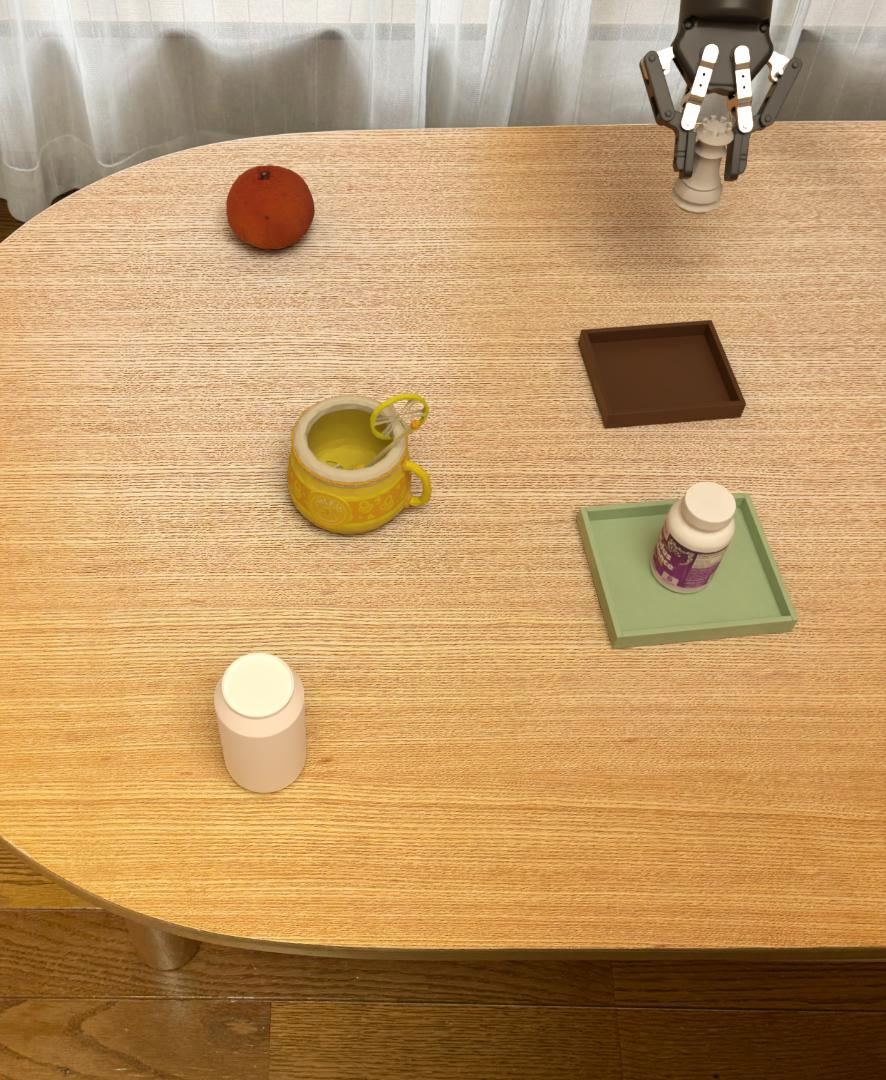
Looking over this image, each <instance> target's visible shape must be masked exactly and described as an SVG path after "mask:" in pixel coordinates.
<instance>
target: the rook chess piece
mask: <svg viewBox="0 0 886 1080" xmlns="http://www.w3.org/2000/svg"><path fill="white" fill-rule="evenodd" d="M727 119H728V118H727V117H725V116H723V115H721V117H720V119H717V115H716V114H713V115H712V114H711V115H709V117H704V118H703V119H702V122H701V123H700V124H699V125H698V126H696V127H695V130H694V132H697V134H696V139H697V140H696V144H695V154H694V164H693V173H692V177H691V178H689V179H679V176H678V177H677V178H676V179H675V180H674V185H673V187H672V188H671V193H670V196H671V198H672V200H673V203H674V204H675V206H676V207H677V208H678V209H680V210H681V211H683V212H686V213H688V214H693V215H704V214H708V213H710V212H713V211H714V210H716V209H717V207H719V205H720V204H721V199H722V196H723V188H724V187H723V184H722V178H721V176H720V170H721V163H722V160H723V157H724V156H726V151H727V144H729V143H730V142H731V141H732V140H733V138H734V134H733V132H732V123H731V121H730V120H729V121H727Z"/></svg>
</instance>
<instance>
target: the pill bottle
mask: <svg viewBox="0 0 886 1080" xmlns="http://www.w3.org/2000/svg"><path fill="white" fill-rule="evenodd" d="M730 491H731V490H729V489H727V488H726V487H724V486H723V485H721V484H719V483H718V482H717V483H716V482H712V481H700V482H696V483H693V484H692V485H691V486H690V487H688V489H687V490H686V492H685V494H684V495H683V497H681V498H678V499H679V500H678V501H676V502H675V503H674V504H673V505H672V507H671V508H670V510H669V512H668V515H667V517H666V520H665V522H664V525H663V527H662V530H661V532H660V534H659V537H658V540H657V543H656V545H655V548H654V550H653V553H652V556H651V561H650V564H651V570H652V573H653V575H654V577H655V578H656V580H657V581H658V582H659V583H660V584H661V585H663V586H664V587H666V588H667V589H669V590H671V591H674V592H678V593H695V592H698V591H700V590H702V589H704V588H705V587H706V586H707V585H708V584H709V583H710V581H711V580H712V578H713V576H714V574H715V572H716V570H717V568H718V566H719V564H720V562H721V560H722V558H723V556H724V554H725V552H726V550H727V548H728V546H729V544H730V542H731V540H732V538H733V535H734V531H735V523H734V519H733V515H734V513H735V510H736V502H735V499H734V497H733V495H732V494H733V493H732V492H730Z"/></svg>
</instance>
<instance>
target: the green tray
mask: <svg viewBox="0 0 886 1080" xmlns="http://www.w3.org/2000/svg"><path fill="white" fill-rule="evenodd" d="M731 494H732V495H733V497H734V499H735V502H736V510H735V513H734V515H733V519H734V523H735V531H734V535H733V538H732V540H731V542H730V544H729V546H728V548H727V550H726V552H725V554H724V556H723V558H722V560H721V562H720V564H719V566H718V568H717V570H716V572H715V574H714V576H713V578H712V580H711V581H710V583H709V584H708V585H707V586H706V587H705V588H704V589H702V590H700V591H698V592H695V593H678V592H674V591H671V590H669V589H667V588H666V587H664V586H663V585H661V584H660V583H659V582H658V581H657V580H656V578H655V577H654V575H653V573H652V570H651V564H650V561H651V556H652V553H653V550H654V548H655V545H656V543H657V540H658V537H659V534H660V532H661V530H662V527H663V525H664V522H665V520H666V517H667V515H668V512H669V510H670V508H671V507H672V505H673V504H674V503H675V502H676V501H678V500H679V499H680V498H674V499H673V498H671V499H662V500H661V499H660V500H653V501H652V500H649V501H639V502H626V503H617V504H616V503H615V504H605V505H603V504H602V505H594V506H592V505H590V506H582V507H581V506H580V507H579V509H578V513H577V517H576V524H577V527H578V531H579V534H580V538H581V542H582V546H583V548H584V552H585V556H586V560H587V562H588V566H589V570H590V573H591V577H592V581H593V584H594V588H595V591H596V595H597V598H598V602H599V606H600V609H601V612H602V615H603V616H602V617H603V620H604V623H605V626H606V630H607V634H608V638H609V641H610V644H611V648H612V650H617V649H627V648H638V647H648V646H657V645H669V644H678V643H688V642H700V641H709V640H719V639H729V638H730V639H731V638H740V637H750V636H761V635H768V634H769V635H770V634H771V635H772V634H780V633H791V632H792V631H793V629H794V628H795V626H796V625H797V623H798V621H799V617H798V615H797V612H796V609H795V607H794V605H793V601H792V600H791V597H790V594H789V592H788V589H787V587H786V585H785V581H784V579H783V577H782V574H781V571H780V569H779V567H778V564H777V561H776V558H775V556H774V554H773V551H772V548H771V546H770V543H769V541H768V539H767V536H766V534H765V530H764V528H763V526H762V523H761V520H760V517H759V515H758V513H757V510H756V508H755V505H754V503H753V501H752V498H751V495H750V493H749V492H742V493H731Z"/></svg>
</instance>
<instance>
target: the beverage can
mask: <svg viewBox="0 0 886 1080" xmlns="http://www.w3.org/2000/svg"><path fill="white" fill-rule="evenodd" d="M305 697H306V696H305V688H304V683H303V681H302V679H301V677H300V676H299V675H298V673H297V672H296V671H295V669H293V668H292V666H290V665H289V664H287V663H286V662H285V661H284V660H283V659H282V658H280V657H278V656H277V655H275V654H271V653H268V652H251V653H247V654H244V655H242V656H240V657H238V658H236V659H235V660H233V662H232V663H230V665H229V666H228V667H227V668H226V669H225V671H224V672H223V673H222V675H221V676H220V677H219V679H218V680H217V683H216V686H215V688H214V692H213V705H214V712H215V717H216V722H217V727H218V734H219V739H220V744H221V750H222V755H223V760H224V764H225V767H226V770H227V772H228V774H229V776H230V777H231V778H232V780H233V781H234V782H235V783H236V784H237V785H239V786H240V787H242V788H243V789H245V790H247V791H250V792H254V793H260V794H261V793H262V794H268V793H274V792H275V793H276V792H278V791H281V790H283V789H285V788H287V787H288V786H290V785H291V784H293V783H294V782H295V781H296V780H297V779H298V778H299V776H300V775H301V773H302V771H303V770H304V767H305V765H306V761H307V751H308V749H307V748H308V747H307V746H308V745H307V722H306V721H307V720H306V698H305Z"/></svg>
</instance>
